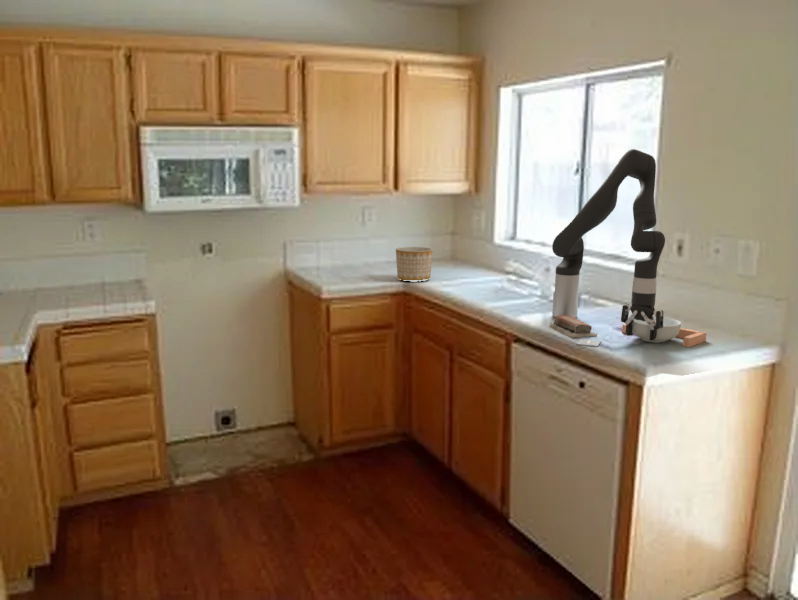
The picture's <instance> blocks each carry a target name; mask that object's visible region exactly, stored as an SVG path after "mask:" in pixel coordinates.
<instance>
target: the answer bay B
mask: <svg viewBox="0 0 798 600" xmlns="http://www.w3.org/2000/svg"><path fill="white" fill-rule="evenodd" d="M621 327H622V330H621V333H622V334H625V333H626V324H625V323H624V324H622V326H621ZM707 335H708V334H707V332H705V331H700V330H694V329H689V328H688V329H687V328H682V327H680V331H679V333H678V335H677V336H676V337H675V338H680V339H683V341H682V346H683V347H686V348H691V347H693V346H695V345H699V344H702V343H705V342H706V341H707Z"/></svg>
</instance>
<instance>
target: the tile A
mask: <svg viewBox="0 0 798 600" xmlns="http://www.w3.org/2000/svg"><path fill="white" fill-rule="evenodd" d="M600 342H601V343H602V341H601V340H594V339H585V338H579V339H578V341H577V342H576V345H577V346H584V347H592V348H593V347H594V348H598V347H599V345H600V344H601V343H600Z"/></svg>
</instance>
